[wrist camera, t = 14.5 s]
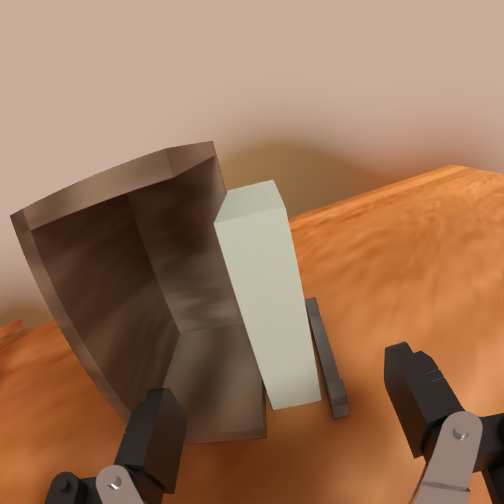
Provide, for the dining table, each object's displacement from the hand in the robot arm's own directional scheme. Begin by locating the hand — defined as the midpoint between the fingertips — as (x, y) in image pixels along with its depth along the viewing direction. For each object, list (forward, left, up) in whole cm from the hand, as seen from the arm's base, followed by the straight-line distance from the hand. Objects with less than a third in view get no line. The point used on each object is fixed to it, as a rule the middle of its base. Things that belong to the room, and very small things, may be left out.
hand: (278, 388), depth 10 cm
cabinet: (-4, +11, -9) cm, 15 cm away
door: (0, +11, -9) cm, 14 cm away
